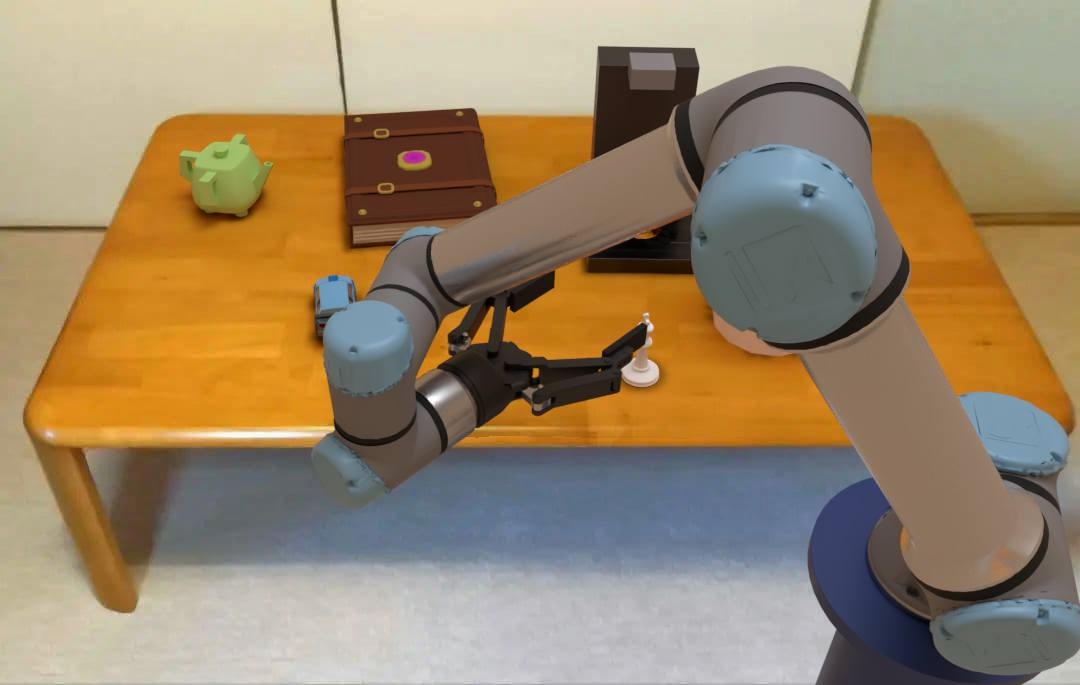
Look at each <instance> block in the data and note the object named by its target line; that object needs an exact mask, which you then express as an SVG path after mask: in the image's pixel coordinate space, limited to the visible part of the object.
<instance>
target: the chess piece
mask: <svg viewBox="0 0 1080 685" xmlns="http://www.w3.org/2000/svg"><path fill="white" fill-rule="evenodd" d="M642 318H643V321H640V322H638V324H637V326H638V325H639V324H641V323H642V322H643V323H644V324H646V325H648V327H647V335H646V343H645V345H644V346H642V347H641V348H640V349H638V350H637V351H636V356H635V357H633V359H632V361H631V362H630V363H629V364H627V365H626V366H625V367H623V368H622V369H621V371H622V381H624V382H625V383H626V384H628V385H630V386H632V387H636V388H647V387H650V386H654V384H656V383H657V382H658V380H659V378H660V369H659V367H658V365H657V363H655V362H654V361H653V360H651V359H649V358H648V348H649V347H651V346H652V345H653V339H652V337H651V334H652V333H653V332H654V330H655V326H654V324H653V323H652V322H651V321H650V313H649V312H644V313H642Z"/></svg>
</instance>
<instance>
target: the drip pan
mask: <svg viewBox="0 0 1080 685" xmlns="http://www.w3.org/2000/svg"><path fill="white" fill-rule="evenodd" d="M692 214H693V213H692ZM692 214H690V215H687V216H685V217H683V218H680V219H678V220H675V221H673V222H670V223H668V224H665V225H663V226H661V227H658V228H656V229H653V230H651V231H650V232H652V233H654V234H655V236H652V237H647V238H638V237H634V238H631V239H629V240H627V241H624V242H622V243H619V244H617V245H614V246H612V247H610V248H607V249H605V250H602V251H600V252H597V253H595V254H593V255H590V256H588V257H586V271H587V273H609V274H611V273H614V274H615V273H618V274H622V273H623V274H677V275H678V274H680V275H694V273H693V268H692V261H691V221H692Z"/></svg>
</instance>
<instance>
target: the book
mask: <svg viewBox="0 0 1080 685" xmlns="http://www.w3.org/2000/svg"><path fill="white" fill-rule="evenodd" d="M477 112H478V111H477V110H476V109H475V107H474V108H473V107H466V108H464V107H463V108H448V109H447V108H445V109H433V110H416V111H414V110H413V111H397V112H380V113H363V114H362V113H361V114H349V115H348V114H347V115H346V114H345V115H343V128H344V132H343V133H344V135H342V139H343V140H342V142H343V148H344V150H343V151H344V159H345V160H344V162H345V164H344V165H345V166H344V167H345V191H344V201H345V209H346V226H348V227H349V248H359V247H372V246H384V245H385V246H387V245H395V244H396V243H397V242H398V240H399V239H400V238H401V236H402V235H403V234H404V233H406V232H407V231H409V230H411V229H412V228H415V227H419V226H423V227H437V228H441V229H443V230H446V229H448V228H450V227H452V226H454V225H456V224H458V223H461V222H463V221H465V220H467V219H469V218H471V217H473V216H475V215H477V214H479V213H482V212H484V211H486V210H488V209H490V208H492V207H494V206H496V205H498V202H497V201H498V194H497V189H496V186H495V184H494V183H493V179H492V174H491V170H490V165H489V160H488V157H487V152H486V148H485V144H486V143H485V136H484V132H483V131H482V129H481V124H480V120H479V116H478V113H477Z"/></svg>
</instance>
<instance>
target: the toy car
mask: <svg viewBox="0 0 1080 685" xmlns="http://www.w3.org/2000/svg"><path fill="white" fill-rule="evenodd" d="M313 296H314V302H315V315H314V332H315V337H316V339H317V340H318V341H320V340H323V332H324V328H325V325H326V323H327V321H328V320H329V318H330V317H331V316H332V315H333V314H334V313H335V312H340V311H342V310H343V309H344V308H345V306H347V305H349V304H351V303H355V302H357V291H356V284H355V281H354V280H353V279H352V278H351V277H350V276H349V275H338V274H333V275H332V274H331V275H328V276H326V277H325V276H324V277H320V278H318V279H316V282H315V283H314V285H313Z"/></svg>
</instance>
